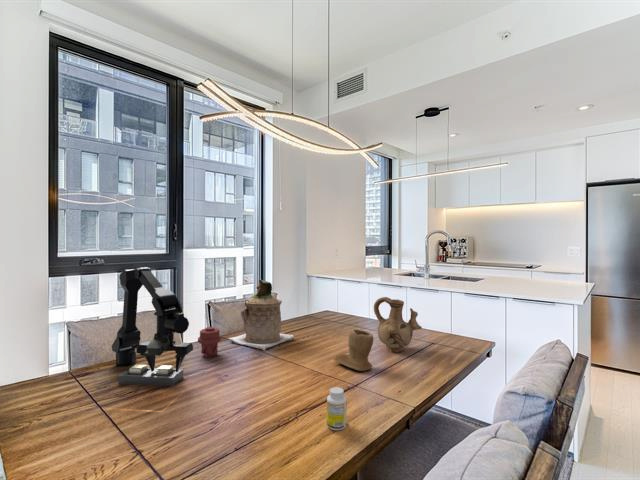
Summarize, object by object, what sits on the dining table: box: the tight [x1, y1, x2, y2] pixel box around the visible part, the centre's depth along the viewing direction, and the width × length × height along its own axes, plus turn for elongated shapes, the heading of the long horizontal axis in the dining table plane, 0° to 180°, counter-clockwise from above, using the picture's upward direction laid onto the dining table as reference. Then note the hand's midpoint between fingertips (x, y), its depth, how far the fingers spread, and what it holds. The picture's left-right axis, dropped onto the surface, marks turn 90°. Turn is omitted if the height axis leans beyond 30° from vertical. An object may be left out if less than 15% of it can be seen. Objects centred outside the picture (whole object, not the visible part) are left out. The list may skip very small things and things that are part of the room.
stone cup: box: [333, 328, 374, 372], centre depth 142 cm, size 15×12×15 cm
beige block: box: [129, 364, 148, 375], centre depth 125 cm, size 4×4×5 cm
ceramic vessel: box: [373, 296, 423, 352], centre depth 164 cm, size 18×19×25 cm
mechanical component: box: [197, 326, 222, 359], centre depth 153 cm, size 12×10×10 cm
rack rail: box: [117, 367, 184, 387], centre depth 125 cm, size 20×8×4 cm, turn 86°
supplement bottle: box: [326, 386, 347, 431], centre depth 97 cm, size 6×6×10 cm
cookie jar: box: [228, 279, 294, 351], centre depth 176 cm, size 25×25×32 cm
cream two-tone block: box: [156, 365, 174, 376], centre depth 125 cm, size 4×4×5 cm
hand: (164, 371), depth 125 cm, fingers open, 9 cm apart
